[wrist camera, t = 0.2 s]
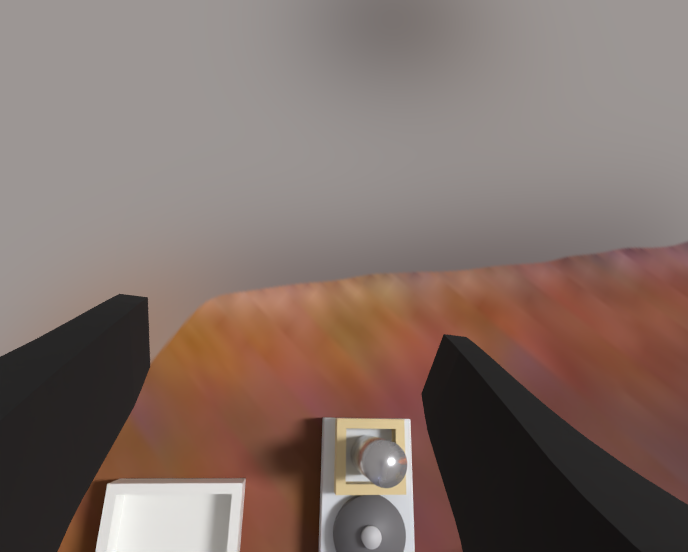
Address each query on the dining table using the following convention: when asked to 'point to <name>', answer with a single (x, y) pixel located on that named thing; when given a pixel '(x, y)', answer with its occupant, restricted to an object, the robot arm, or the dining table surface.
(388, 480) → the lock pin
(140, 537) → the tray
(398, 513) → the white flat block
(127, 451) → the dining table surface
